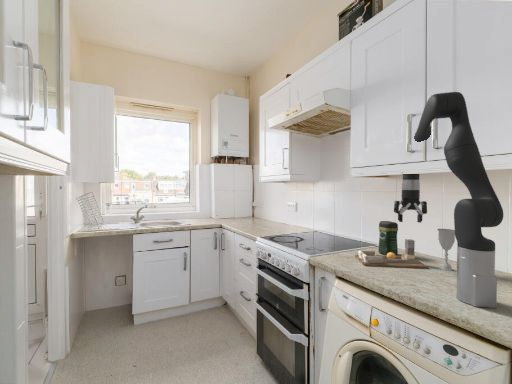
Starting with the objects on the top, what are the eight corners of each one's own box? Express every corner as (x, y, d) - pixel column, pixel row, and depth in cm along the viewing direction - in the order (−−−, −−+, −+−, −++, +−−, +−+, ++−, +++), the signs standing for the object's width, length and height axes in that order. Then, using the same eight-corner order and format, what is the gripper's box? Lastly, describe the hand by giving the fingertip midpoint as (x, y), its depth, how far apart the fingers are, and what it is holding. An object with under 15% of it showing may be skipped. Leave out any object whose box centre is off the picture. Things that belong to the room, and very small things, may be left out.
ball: (397, 261, 121) (397, 253, 121) (388, 261, 122) (388, 253, 122) (393, 259, 125) (393, 251, 125) (385, 259, 126) (385, 251, 126)
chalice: (443, 266, 119) (443, 228, 118) (459, 270, 112) (460, 230, 112) (433, 267, 116) (433, 229, 116) (449, 272, 109) (449, 231, 109)
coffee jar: (400, 256, 136) (401, 222, 136) (388, 256, 134) (388, 222, 134) (387, 251, 145) (388, 220, 145) (375, 252, 144) (376, 220, 144)
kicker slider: (415, 261, 120) (415, 241, 120) (406, 261, 120) (406, 240, 120) (410, 258, 125) (410, 239, 125) (401, 258, 125) (402, 238, 125)
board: (428, 268, 114) (428, 260, 114) (364, 265, 117) (364, 257, 117) (411, 259, 130) (411, 251, 130) (355, 256, 133) (355, 249, 133)
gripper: (398, 189, 119) (398, 222, 119) (430, 189, 118) (429, 223, 118) (392, 189, 127) (391, 220, 127) (422, 189, 125) (421, 221, 125)
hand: (409, 222), depth 122 cm, fingers open, 8 cm apart
